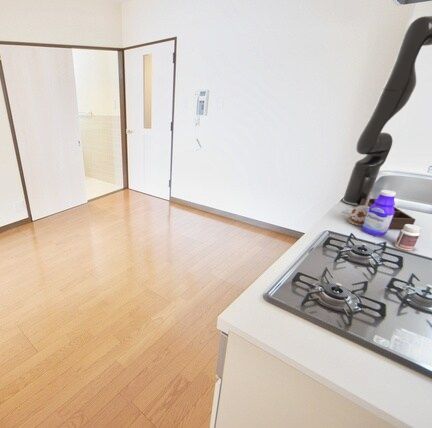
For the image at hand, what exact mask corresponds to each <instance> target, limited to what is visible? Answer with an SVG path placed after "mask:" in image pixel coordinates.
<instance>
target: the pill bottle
mask: <svg viewBox="0 0 432 428" xmlns="http://www.w3.org/2000/svg"><path fill="white" fill-rule="evenodd" d="M421 230H422V227H420V226H419V225H416V224H413V225H412V224H405V225H404V228H403V229H402V230H399V233H398V236H397V238H396V240H395V243H394V246H395V248H398V249H401V250H404V251H412V250H414V248H415V245H416V243H417V242H418V239H419V237H420V235H421V234H420V232H421Z"/></svg>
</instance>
